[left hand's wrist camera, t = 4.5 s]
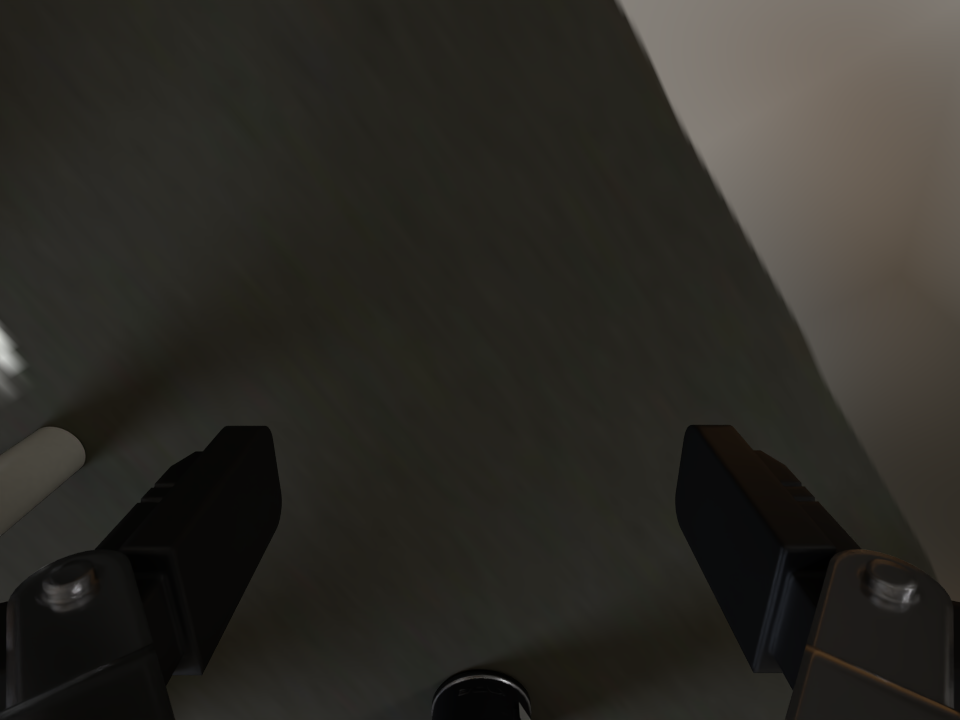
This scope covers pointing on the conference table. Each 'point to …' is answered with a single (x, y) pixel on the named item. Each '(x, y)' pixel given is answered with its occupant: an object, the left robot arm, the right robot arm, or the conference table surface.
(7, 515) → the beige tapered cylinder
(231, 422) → the conference table surface
